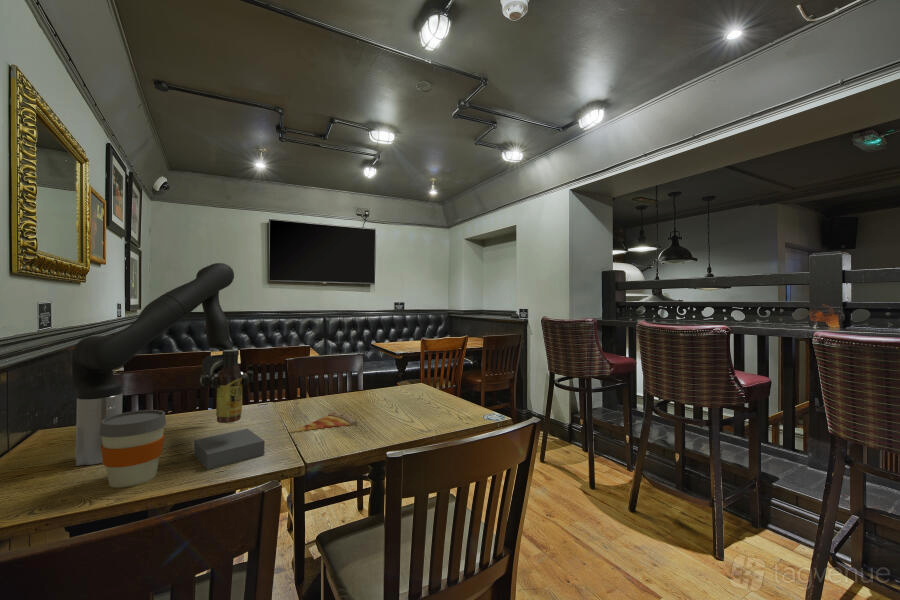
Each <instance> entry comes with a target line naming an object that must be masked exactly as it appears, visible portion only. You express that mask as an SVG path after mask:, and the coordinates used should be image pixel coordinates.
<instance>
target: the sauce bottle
mask: <svg viewBox="0 0 900 600" xmlns="http://www.w3.org/2000/svg"><path fill="white" fill-rule="evenodd" d="M221 355H223V368H222V369H221V370H220V372H219V374H218V388H216V410H215V411H216V413H215V415H216V421H217V423H219V424H228V423H229V424H230V423H234V422H238V421H240V420H241V418H242V413H243V412H242V411H243V384H242V381H243V377H242V375H241V372H242V371H241V369H240V367H239V355H240V350H239V349H232V350H222V354H221ZM240 371H241V372H240Z"/></svg>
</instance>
